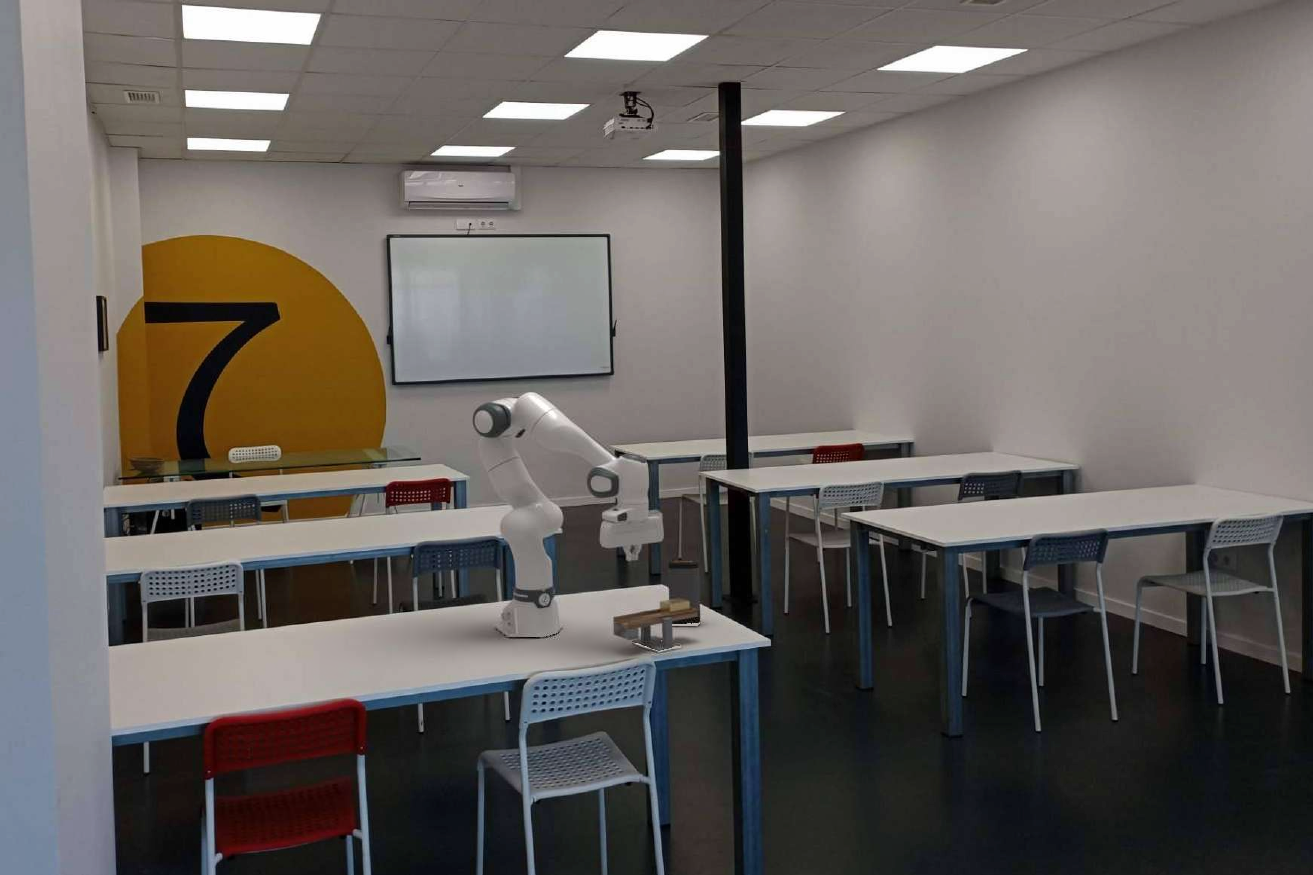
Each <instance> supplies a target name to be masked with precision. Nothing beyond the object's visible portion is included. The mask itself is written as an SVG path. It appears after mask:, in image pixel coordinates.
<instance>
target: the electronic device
mask: <svg viewBox="0 0 1313 875" xmlns="http://www.w3.org/2000/svg"><path fill="white" fill-rule="evenodd" d="M667 566H668V567H667V568H668V569H667V570H668V600H671V599H676V598H681V599H685V600H688V601H690V607H691V608H694V609H698V616H697V617H692V618H687V619H681V620H676V621H672V624H687V623H691V624H692V623H699V622H700V623H701V588H700V587H701V584H700V583H701V580H700V560H699V559H698V558H691V560H678V559H677V558H671V559H669V561H668V564H667Z"/></svg>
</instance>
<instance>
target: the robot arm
mask: <svg viewBox="0 0 1313 875" xmlns="http://www.w3.org/2000/svg"><path fill="white" fill-rule="evenodd" d="M472 426H473V428H474V430H475V432H476V433H477V434H478V435H479V436H481V437H480V439H479V441H478V444H477V448H478V452H479V456H480V459H481V462H482V464H483V467H484V469H485V471H486V474H487V475H488V477H489V480H490V482H491V484H492V486H493V488H494V490H495V492H496V494H497V496H498V497H499V498H500V499H501V500H503V501H505V502H506V503H507V504H509V505H510V506H511V508H512V510H511V511H509V512H508V513H506V514H505V515H504V516H503V517H502V518H501V520H500V523H499V532H500V535H501V536H502V539H504V541H505V542H507V543H508V545H509V547H510V551H511V553H512V557H513V561H514V573H515V576H514V577H515V586H513V587H512V589H513V590H512V592H513V594H512V599H511V600H510V602H509V603H507V605H506V606H504V608H503V609H502V612H501V614H500V615H501V620H502V621H501V622H498V623H495V624H494V628H495V629H496V628H497V629H498V631H499V632H500V631H501V632H502V635H504V634H505V635H506V636H505V635H504V636H505V637H507V638H508V637H540V638H545V637H546V636H547V637H551V636H553V635H552V634H555V635H557V634H558V631H559V630H560V631H561V629H560V628H562V629H563V628H564V624H563V623H561V621H560V611H559V604H558V601H556V600H555V597H556V595H555V592H556V591H555V585H554V583H553V582H554V581H553V562H552V559H551V558H550V556H549V555H548V553H546V549H545V546H544V543H543V542H544V539H546V538H548V537H551V536H553V535H554V534H556V532H558V531H559V530H560V529H561V528H562V525H563V522H564V515H563V512H562V509H561V508H560V506H559V505H557V504H556V503H554V502H552V501H551V500H550V499H548V497H546V496H545V494H544V493H543V492H542V491H541V489H539V487H538V485H537V484H536V483H535V481H533V479H532V478H531V476H530V474H529V472H528V470H527V468H526V466H525V464H524V462H523V459H522V458H521V456H520V454H519V452H518V451H517V449H516V446H515V440H516V439H517V438H518V439H519V438H522V436H523V435H524V434H525V433H526V432H527V433H528V434H529V435H530V436H531V437H532V438H533V439H534V440H535V441H536V442H537V443H539V444H540V445H541V446H543V447H544V448H546V449H548V450H550V451H555V452H562V453H563V452H564V453H569V454H570V453H571V454H574V455H577V456H580V457H581V458H583V459H585V461H587V462H588V463H590V464H591V465H592V466H593V468H591V469H590V471H589V472H588V474H587V476H586V485H587V489H588V491H589V493H590V494H591V495H592V496H593V497H595V498H596V499H597V498H598V499H602V500H603V499H604V500H606V499H610V498H616V499H617V500H616V501H617V504H616V505H614V506H612V507H610V508H609V509H607V510H604V511H603V512H602V514H601V519H602V522H601V525H600V530H599V543H600V545H601V547H602V548H606V549H613V548H621V547H622V549H623V551H624V553H625V559H626V561H628V562H631V561H638V560H639V553H640V552H641V550H642V548H643V547H642V546H643V545H646V544H652V543H660V542H662V541H663V540H664V536H665V534H664V522H663V513H662V512H661V511H660V510H658V509H653V510H650V509H649V506H650V504H649V497H648V491H649V488H650V476H649V475H650V474H649V472H650V471H649V466H648V462H647V460H646V459H645V458H644V457H643V456H641V455H637V454H630V453H628V454H626V453H625V454H621V455H620V456H619V457H618V456H616V455H615V454H614V453H613V452H611V451H610V450H609V449H608V448H606V447H605V446H604V445H602V443H600V442H599V441H597V439H595V438H594V437H592V436H591V435H590V434H588V433H587V432H585V431H584V430H583V429H581V427H579V426H578V425H576V424H575V423H574V421H572V420H570V419H569V418H568V417H567V416H566V415H565V414H564V413H563V412H562V411H561V410H559V408H557V407H556V406H555V405H554V404H553V403H551V402H550V401H549V400H548V399H546V398H545V397H543V396H542V395H540V394H538V393H536V392H534V391H533V392H532V391H531V392H530V391H529V392H526V393H522V395H521V396H513V397H506V398H500V399H499V398H498V399H497V400H493V401H489V402H488V401H487V402H485V403H483V404H481V405H479V406H478V407H477V408H476V409H475V410H474V412H473V415H472ZM515 438H516V439H515ZM632 546H633V548H634V549H633V551H632V552H631V550H632ZM497 629H496V630H497ZM560 631H559V632H560ZM501 632H500V633H501ZM556 633H557V634H556ZM550 635H551V636H550Z"/></svg>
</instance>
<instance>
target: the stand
mask: <svg viewBox="0 0 1313 875" xmlns="http://www.w3.org/2000/svg"><path fill="white" fill-rule="evenodd" d="M644 611H645V610H644ZM644 611H643V610H642V611H641V612H644ZM661 626H662V628H661V633H662V636H661V637H660V636H658V635H657V636H656V635H651V634H652V633H651V632H652V630H651V629H652V628H651V627H652V625H651V626H645V627H640V638H638V639H633V640H631V642H634V643H639V644H641V645H643V646H647V647H649V648H651V649H655V650H658V651H660V650H664V649H669V648H672V647H674V646H680V645H682V644H681V643H678V644H677V642H674V640H673V634H674V633H673V627H672V618H670V617H667V618H662V623H661ZM661 640H662V641H661Z"/></svg>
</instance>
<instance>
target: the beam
mask: <svg viewBox="0 0 1313 875" xmlns="http://www.w3.org/2000/svg"><path fill="white" fill-rule="evenodd" d="M697 616H698V609H694V608H691V607H690V610H688V611H683V612H678V613H672V614H667V615H664V614H661V613H660V608H656V609H651V610H644V612H642V611H640V612H634V613H628V614H623V615H617V616H613V619H612V620H613V622H612V623H613V624H612V625H613V626H612V627H613V635H614V636H617V637H620V638H622V639H626V640H627V641H632V640H636V639H640V637H639V635H640V634H639V633H640V632H639V629H641V627H645V626H651V627H652V626H655V625H659V624H660V625H662V618H667V617H670V618H672V621H676V620H681V619H687V618H692V617H697Z"/></svg>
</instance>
